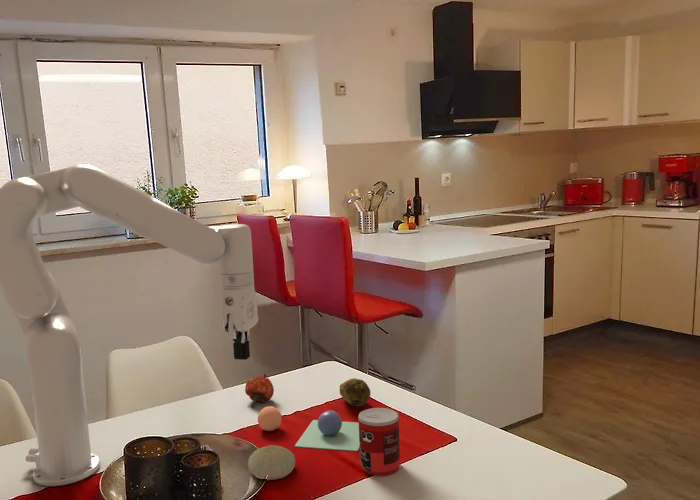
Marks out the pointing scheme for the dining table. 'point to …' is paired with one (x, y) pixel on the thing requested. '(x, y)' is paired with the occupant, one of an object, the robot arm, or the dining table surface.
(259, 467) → the sea urchin shell
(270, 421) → the peach ball
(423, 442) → the dining table surface
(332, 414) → the blue ball
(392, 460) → the canned food
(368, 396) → the potato
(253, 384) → the pomegranate
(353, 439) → the green mark
